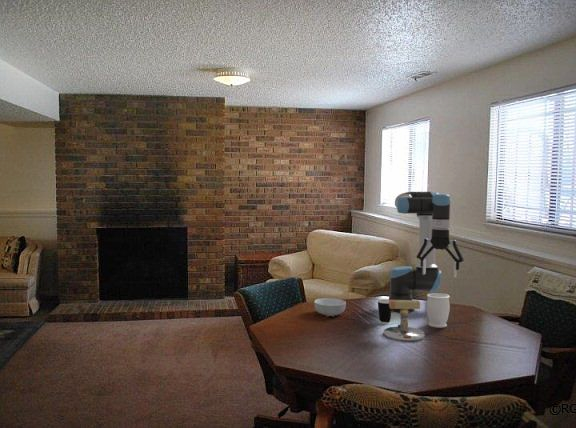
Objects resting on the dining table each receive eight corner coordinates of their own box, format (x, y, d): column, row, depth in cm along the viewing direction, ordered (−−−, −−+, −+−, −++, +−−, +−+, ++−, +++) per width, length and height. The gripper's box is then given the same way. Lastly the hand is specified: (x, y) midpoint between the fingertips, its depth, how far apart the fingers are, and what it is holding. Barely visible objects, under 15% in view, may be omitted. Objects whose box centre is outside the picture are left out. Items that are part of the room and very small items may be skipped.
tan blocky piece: (388, 325, 224) (388, 298, 223) (417, 326, 223) (417, 299, 222) (390, 330, 217) (390, 302, 216) (420, 330, 216) (420, 302, 215)
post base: (381, 329, 230) (381, 311, 229) (420, 330, 228) (420, 312, 228) (386, 341, 212) (386, 322, 211) (428, 342, 210) (428, 323, 210)
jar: (446, 322, 240) (447, 293, 239) (451, 329, 230) (452, 297, 229) (424, 322, 241) (425, 292, 240) (428, 328, 231) (429, 297, 230)
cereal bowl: (347, 319, 247) (347, 305, 246) (314, 319, 247) (314, 305, 246) (343, 310, 263) (344, 297, 263) (313, 310, 264) (313, 297, 263)
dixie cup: (396, 323, 239) (396, 301, 238) (383, 325, 235) (383, 303, 234) (386, 319, 246) (386, 298, 245) (373, 321, 242) (373, 299, 241)
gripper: (410, 228, 219) (409, 274, 221) (468, 231, 207) (467, 279, 209) (414, 226, 226) (413, 271, 228) (471, 229, 214) (469, 276, 216)
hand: (439, 275), depth 218 cm, fingers open, 13 cm apart
